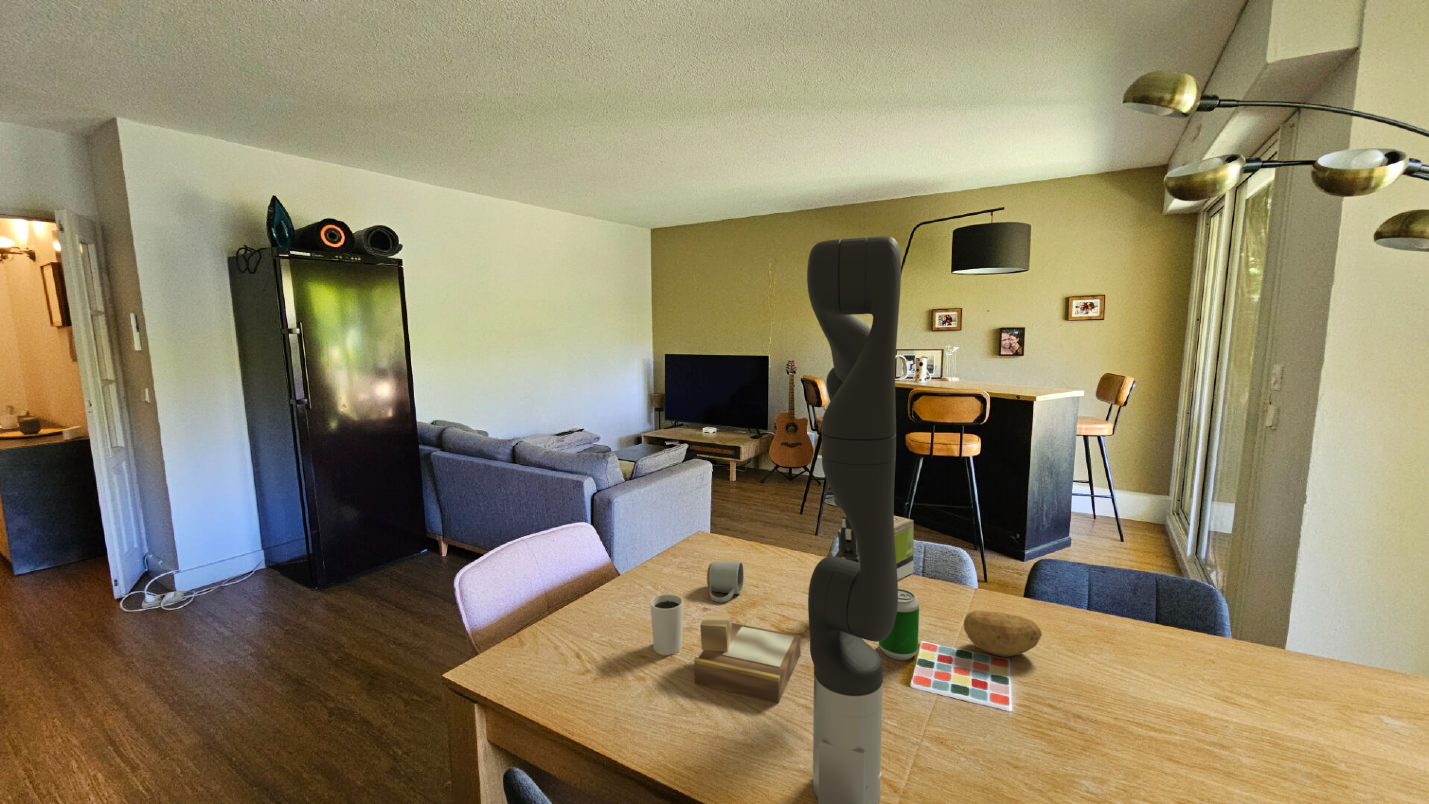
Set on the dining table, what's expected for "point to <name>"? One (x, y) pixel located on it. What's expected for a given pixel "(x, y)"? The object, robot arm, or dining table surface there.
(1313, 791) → the dining table surface
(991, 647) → the potato
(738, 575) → the ceramic mug
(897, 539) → the tea box
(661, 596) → the white cup
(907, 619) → the soda can
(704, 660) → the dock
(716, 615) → the wooden cube
